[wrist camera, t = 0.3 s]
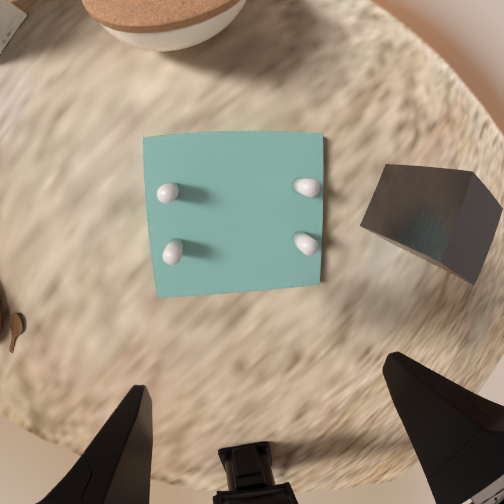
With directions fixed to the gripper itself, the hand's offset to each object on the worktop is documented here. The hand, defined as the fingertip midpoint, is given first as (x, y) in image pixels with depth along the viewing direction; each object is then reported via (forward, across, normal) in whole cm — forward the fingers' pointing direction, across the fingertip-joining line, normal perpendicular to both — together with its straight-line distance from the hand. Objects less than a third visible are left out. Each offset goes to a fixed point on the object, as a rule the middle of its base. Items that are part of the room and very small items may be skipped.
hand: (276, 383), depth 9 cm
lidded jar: (+17, +4, -18) cm, 25 cm away
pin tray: (+14, 0, -2) cm, 14 cm away
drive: (+14, -14, -2) cm, 20 cm away
